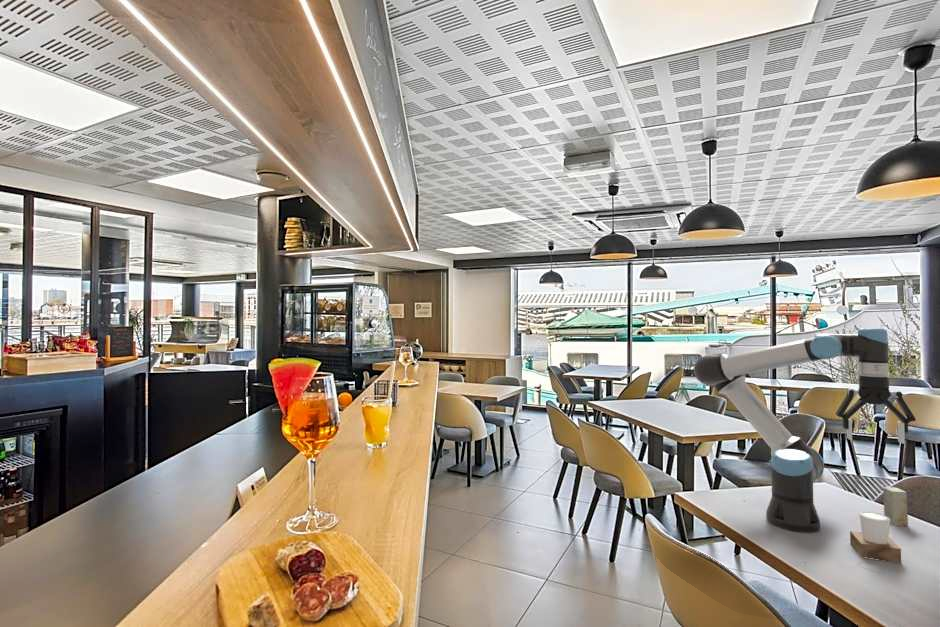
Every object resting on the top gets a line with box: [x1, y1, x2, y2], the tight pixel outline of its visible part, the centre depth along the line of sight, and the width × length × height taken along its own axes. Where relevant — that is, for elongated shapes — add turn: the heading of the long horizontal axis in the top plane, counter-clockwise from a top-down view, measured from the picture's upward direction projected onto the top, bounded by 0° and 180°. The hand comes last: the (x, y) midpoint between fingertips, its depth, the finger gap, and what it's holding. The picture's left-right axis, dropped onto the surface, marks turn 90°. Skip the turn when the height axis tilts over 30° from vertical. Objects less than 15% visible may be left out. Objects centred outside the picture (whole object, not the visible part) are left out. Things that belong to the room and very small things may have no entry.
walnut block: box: [849, 530, 902, 564], centre depth 140 cm, size 9×9×4 cm
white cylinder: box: [859, 511, 891, 544], centre depth 140 cm, size 7×7×7 cm
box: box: [882, 486, 909, 527], centre depth 161 cm, size 5×4×11 cm
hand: (874, 440), depth 157 cm, fingers open, 13 cm apart
